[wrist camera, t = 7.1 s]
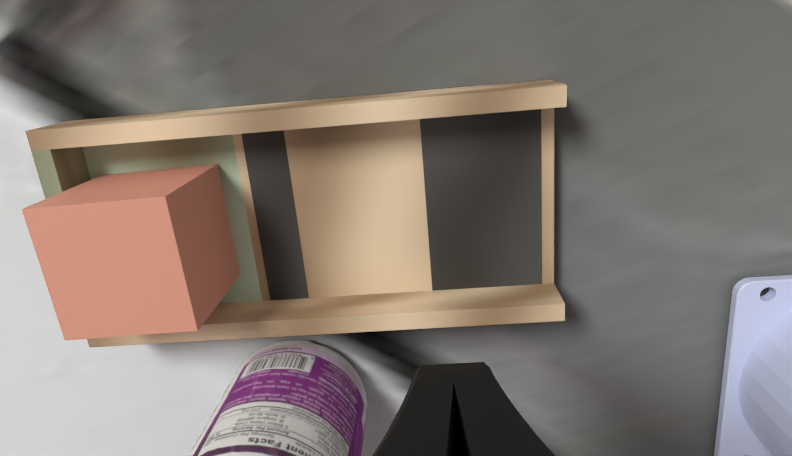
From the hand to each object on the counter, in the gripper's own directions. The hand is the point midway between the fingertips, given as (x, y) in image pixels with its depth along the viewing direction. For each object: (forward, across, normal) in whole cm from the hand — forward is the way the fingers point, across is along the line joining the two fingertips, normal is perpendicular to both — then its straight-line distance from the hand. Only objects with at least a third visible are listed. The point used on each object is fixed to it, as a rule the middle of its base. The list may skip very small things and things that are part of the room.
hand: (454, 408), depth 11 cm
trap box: (+9, +4, -2) cm, 10 cm away
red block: (+9, +9, -1) cm, 13 cm away
